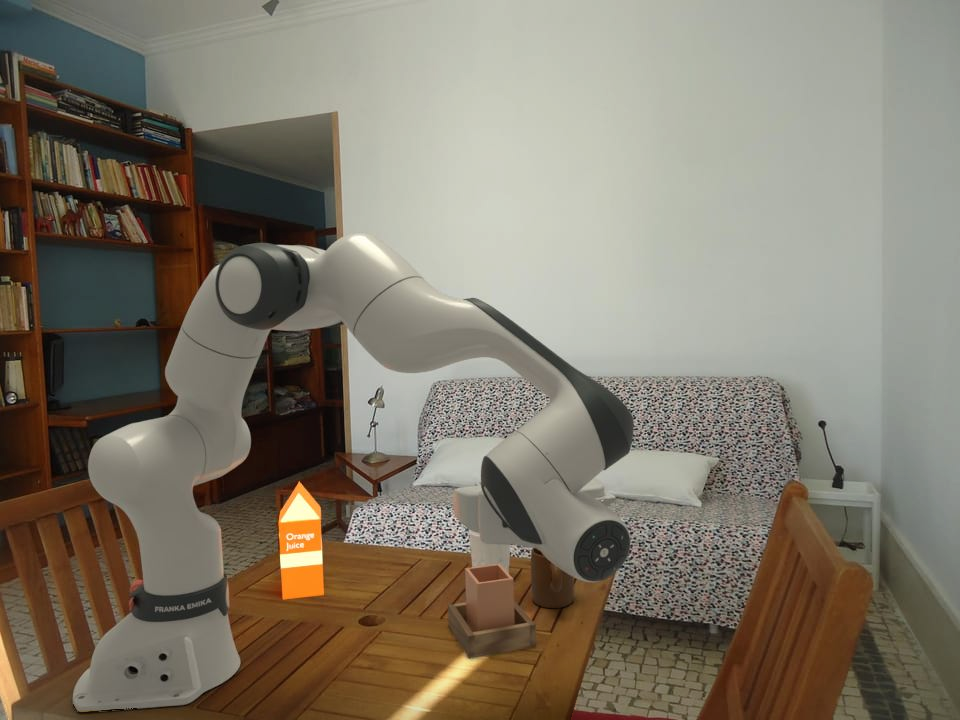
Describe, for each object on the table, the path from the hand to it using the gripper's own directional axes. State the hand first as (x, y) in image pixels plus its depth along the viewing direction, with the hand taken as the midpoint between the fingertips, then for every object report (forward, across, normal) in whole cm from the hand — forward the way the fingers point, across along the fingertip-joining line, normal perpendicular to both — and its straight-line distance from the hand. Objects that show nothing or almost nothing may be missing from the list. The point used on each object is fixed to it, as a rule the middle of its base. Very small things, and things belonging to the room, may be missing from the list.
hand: (511, 484), depth 104 cm
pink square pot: (+12, 0, +28) cm, 30 cm away
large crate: (+12, 0, +28) cm, 31 cm away
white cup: (+34, -7, +28) cm, 45 cm away
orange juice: (+43, +28, +28) cm, 59 cm away
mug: (+19, -14, +28) cm, 37 cm away
